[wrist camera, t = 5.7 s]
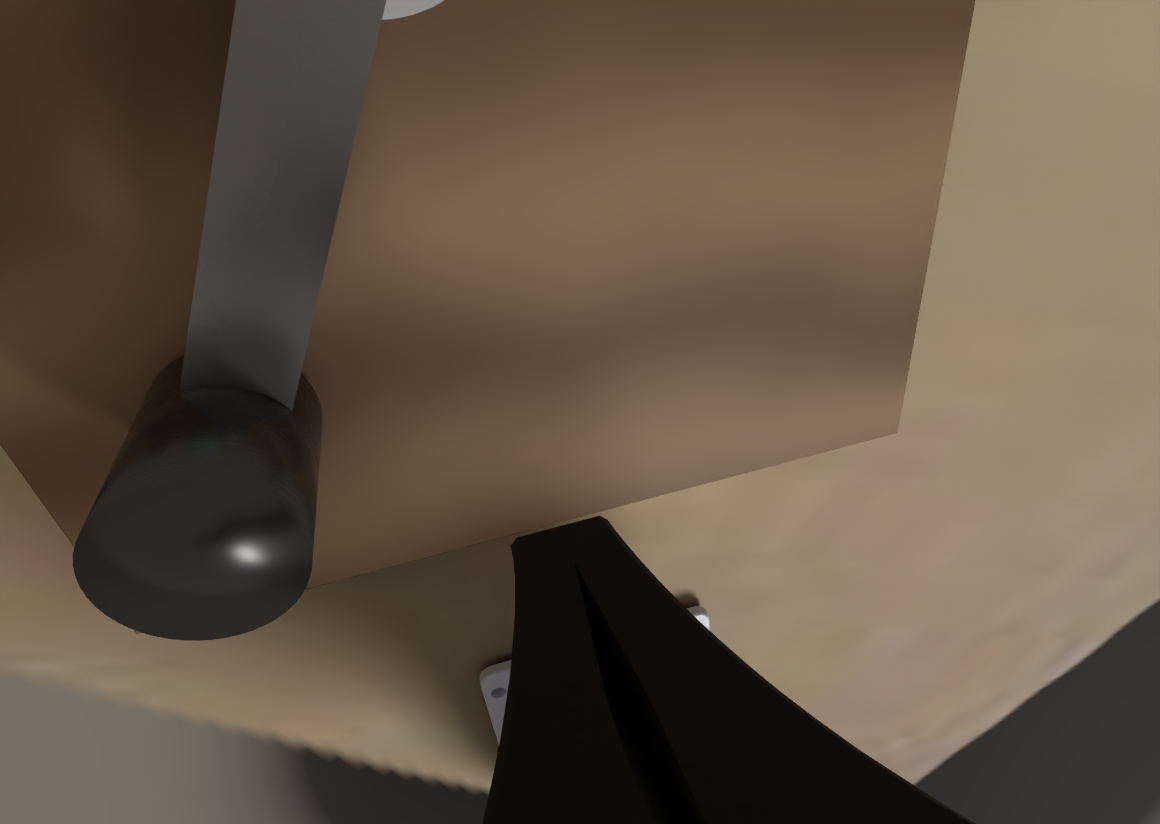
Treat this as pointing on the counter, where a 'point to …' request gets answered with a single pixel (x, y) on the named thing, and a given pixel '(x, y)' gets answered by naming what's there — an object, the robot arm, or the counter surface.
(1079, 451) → the counter surface
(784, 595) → the counter surface
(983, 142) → the counter surface
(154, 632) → the lever
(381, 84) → the board
